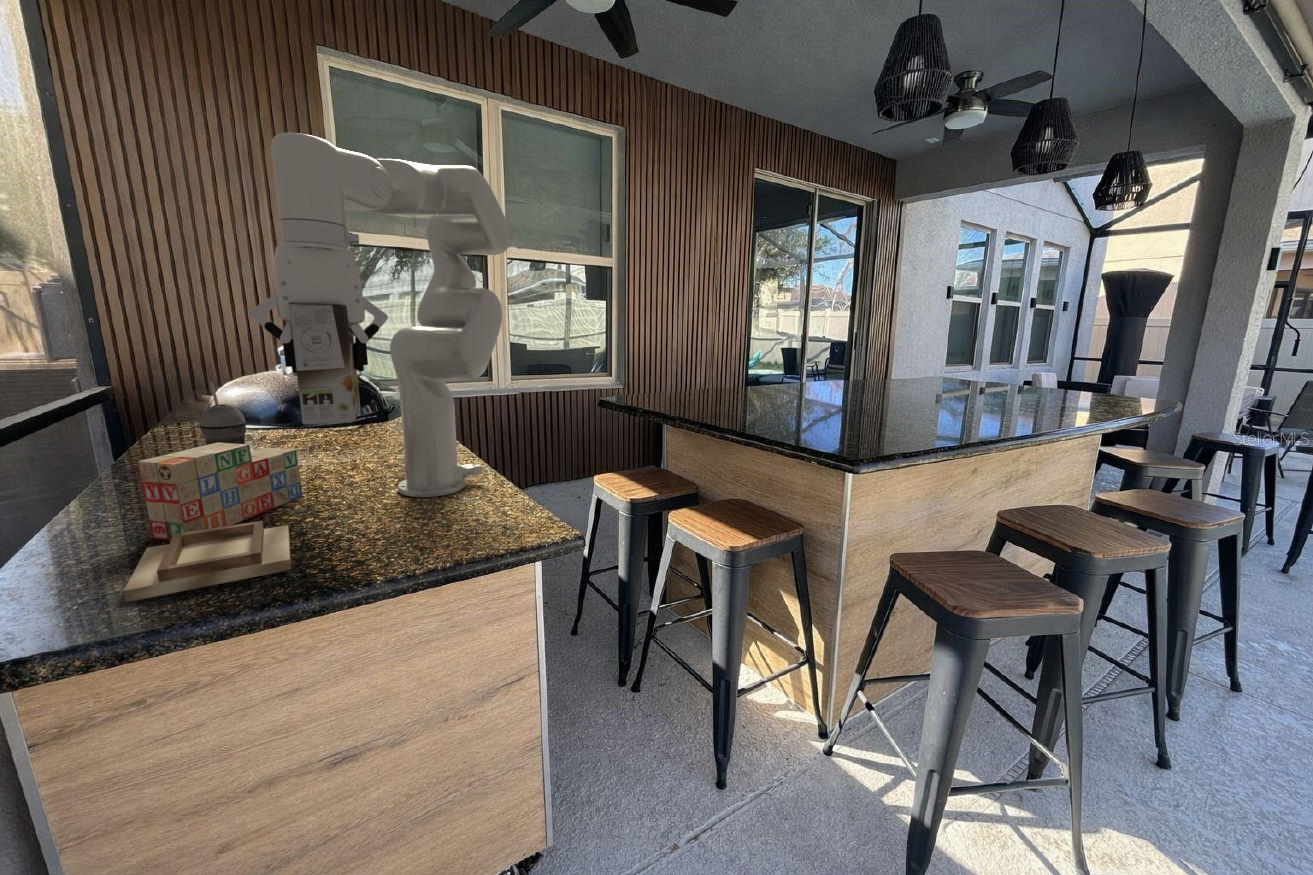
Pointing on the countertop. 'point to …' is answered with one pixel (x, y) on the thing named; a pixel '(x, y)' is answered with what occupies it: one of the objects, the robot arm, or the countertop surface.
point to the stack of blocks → (216, 486)
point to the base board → (210, 559)
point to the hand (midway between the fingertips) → (328, 370)
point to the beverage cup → (222, 423)
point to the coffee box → (325, 363)
